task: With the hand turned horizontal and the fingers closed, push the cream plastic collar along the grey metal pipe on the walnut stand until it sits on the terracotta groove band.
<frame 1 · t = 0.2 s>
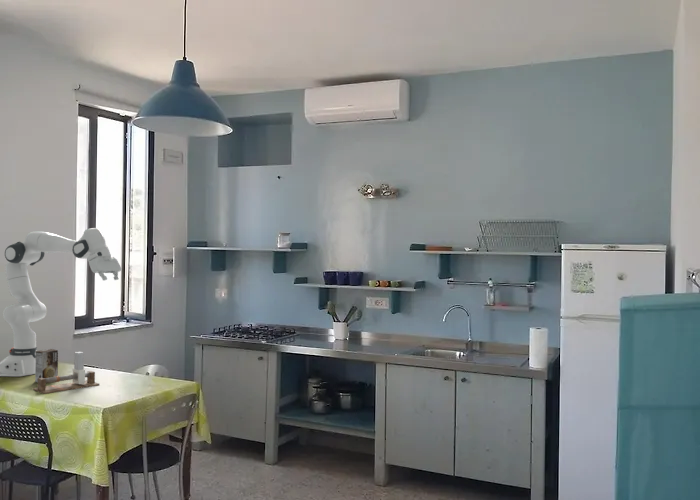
hand: (111, 279, 337), 54 cm above the table, tool tilted 25°, fingers open, 8 cm apart
coffee box: (46, 381, 336), on the table
collar: (78, 367, 327), point 9 cm above the table, slide at 0.0 cm
pipe stand: (66, 387, 322), on the table
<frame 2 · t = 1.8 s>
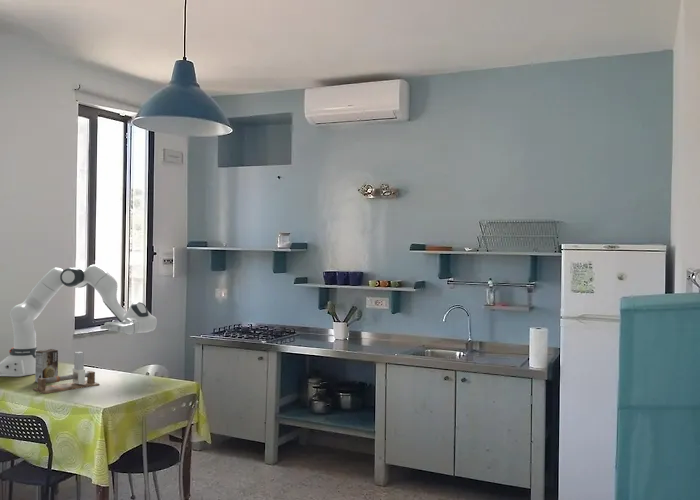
hand: (104, 328, 337), 28 cm above the table, tool horizontal, fingers open, 7 cm apart
nothing on the table moved.
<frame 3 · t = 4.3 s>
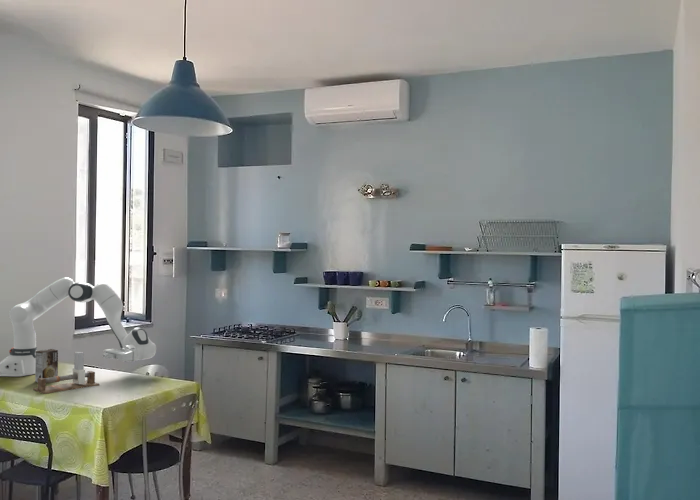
hand: (103, 356, 337), 13 cm above the table, tool horizontal, fingers closed
nothing on the table moved.
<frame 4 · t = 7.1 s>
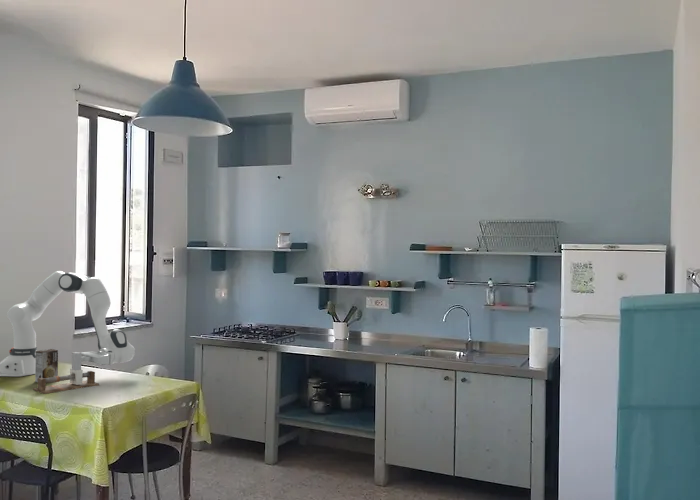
hand: (79, 359, 327), 13 cm above the table, tool horizontal, fingers closed, pressing on collar
collar: (76, 367, 326), point 9 cm above the table, slide at 1.3 cm, touching gripper
everything else where it was.
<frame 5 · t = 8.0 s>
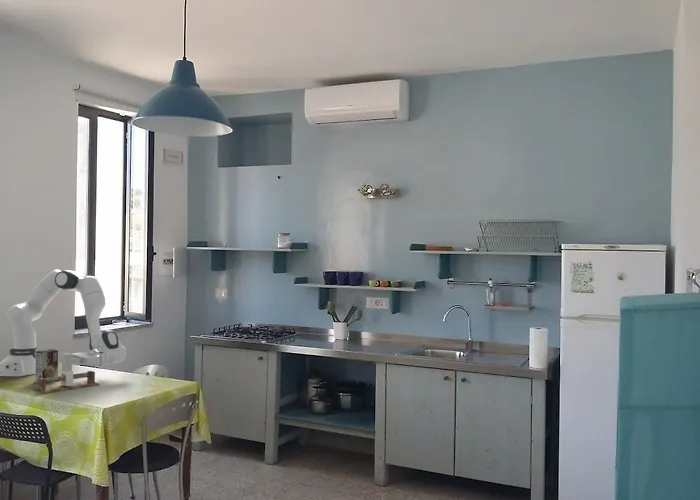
hand: (69, 360, 323), 13 cm above the table, tool horizontal, fingers closed, pressing on collar
collar: (66, 369, 322), point 9 cm above the table, slide at 6.2 cm, touching gripper
everything else where it was.
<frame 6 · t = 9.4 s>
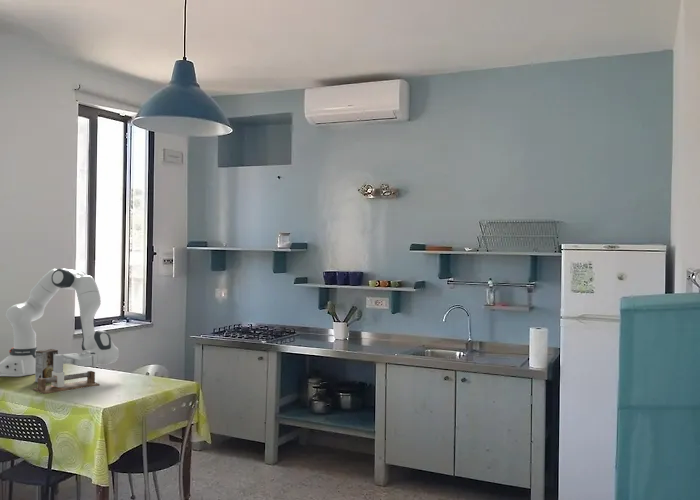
hand: (61, 361, 320), 13 cm above the table, tool horizontal, fingers closed, pressing on collar
collar: (58, 370, 319), point 9 cm above the table, slide at 10.6 cm, touching gripper
everything else where it was.
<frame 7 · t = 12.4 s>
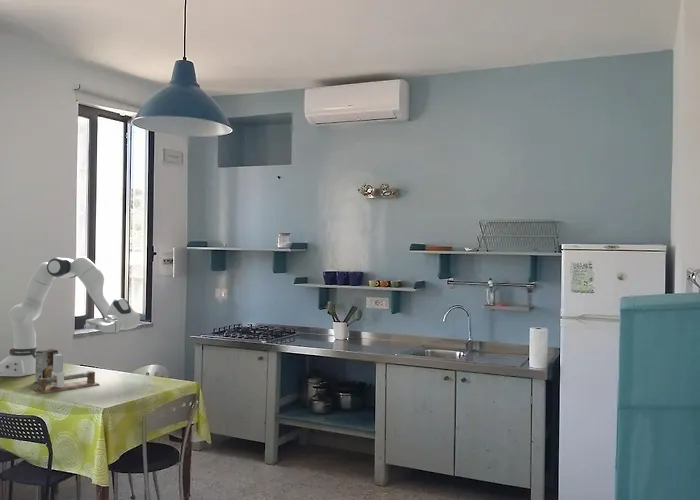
hand: (85, 327, 330), 30 cm above the table, tool horizontal, fingers closed
collar: (57, 370, 319), point 9 cm above the table, slide at 10.7 cm
everything else where it was.
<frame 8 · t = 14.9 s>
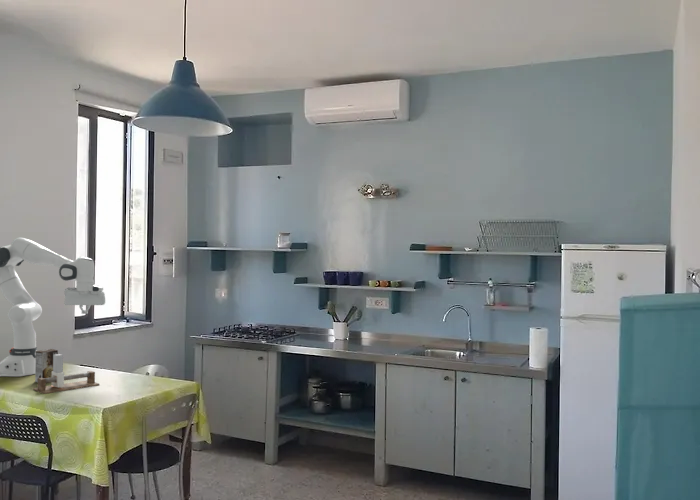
hand: (84, 313, 341), 35 cm above the table, tool pointing down, fingers closed
nothing on the table moved.
at the end: collar slide at 10.7 cm; the gripper is holding nothing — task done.
